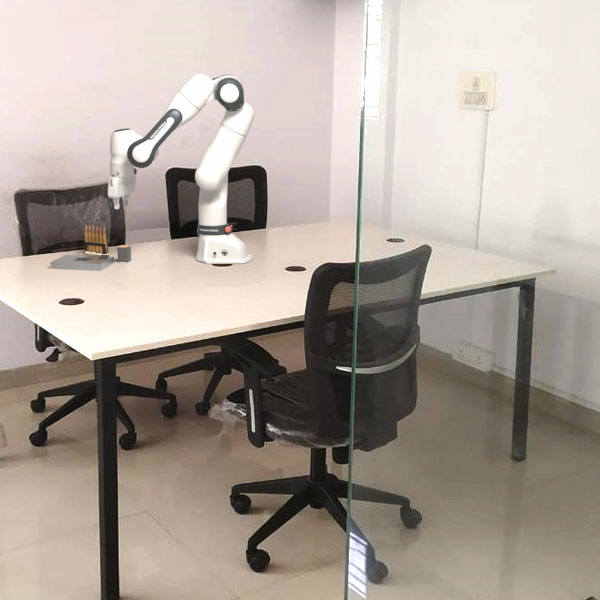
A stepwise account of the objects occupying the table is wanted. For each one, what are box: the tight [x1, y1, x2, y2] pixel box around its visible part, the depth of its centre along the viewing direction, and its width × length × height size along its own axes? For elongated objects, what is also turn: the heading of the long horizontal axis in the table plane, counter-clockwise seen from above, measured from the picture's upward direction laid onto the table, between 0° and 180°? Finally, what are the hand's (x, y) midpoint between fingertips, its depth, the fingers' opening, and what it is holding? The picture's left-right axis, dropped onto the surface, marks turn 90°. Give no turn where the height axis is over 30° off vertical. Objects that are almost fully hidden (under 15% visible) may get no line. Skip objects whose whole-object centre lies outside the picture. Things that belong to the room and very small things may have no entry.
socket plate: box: [49, 254, 115, 272], centre depth 347 cm, size 20×14×3 cm
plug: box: [116, 244, 132, 264], centre depth 354 cm, size 4×4×6 cm
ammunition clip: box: [83, 224, 110, 254], centre depth 367 cm, size 11×2×12 cm, turn 66°
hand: (121, 207), depth 351 cm, fingers open, 8 cm apart
